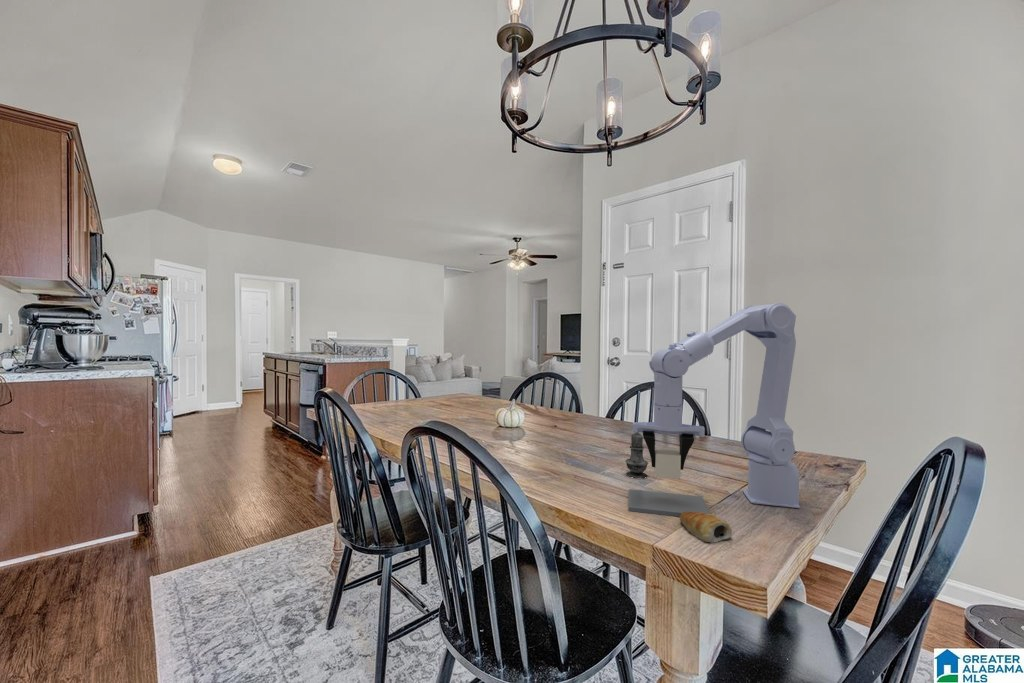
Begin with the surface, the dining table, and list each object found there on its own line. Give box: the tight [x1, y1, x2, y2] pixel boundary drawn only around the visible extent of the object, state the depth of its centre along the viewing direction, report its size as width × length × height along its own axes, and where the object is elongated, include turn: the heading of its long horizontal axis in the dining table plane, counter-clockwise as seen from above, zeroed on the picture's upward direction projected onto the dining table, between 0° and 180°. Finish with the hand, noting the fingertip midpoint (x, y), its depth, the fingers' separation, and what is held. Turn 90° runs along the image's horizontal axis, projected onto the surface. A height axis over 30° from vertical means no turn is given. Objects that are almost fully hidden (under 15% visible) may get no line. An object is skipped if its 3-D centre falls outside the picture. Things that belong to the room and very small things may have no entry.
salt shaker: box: [624, 432, 649, 479], centre depth 112 cm, size 6×6×12 cm
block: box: [653, 447, 682, 480], centre depth 93 cm, size 5×5×5 cm
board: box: [627, 488, 711, 518], centre depth 92 cm, size 16×11×1 cm
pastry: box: [679, 511, 733, 543], centre depth 80 cm, size 9×7×4 cm
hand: (667, 467), depth 92 cm, fingers closed on block, 5 cm apart
